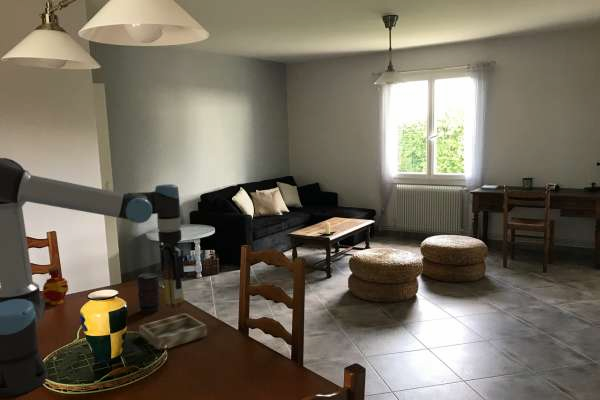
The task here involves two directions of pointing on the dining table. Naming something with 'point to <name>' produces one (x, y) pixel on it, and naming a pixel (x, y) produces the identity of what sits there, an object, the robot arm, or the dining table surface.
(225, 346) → the dining table surface
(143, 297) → the camera lens
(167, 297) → the sauce bottle
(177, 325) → the box
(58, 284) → the potion bottle
